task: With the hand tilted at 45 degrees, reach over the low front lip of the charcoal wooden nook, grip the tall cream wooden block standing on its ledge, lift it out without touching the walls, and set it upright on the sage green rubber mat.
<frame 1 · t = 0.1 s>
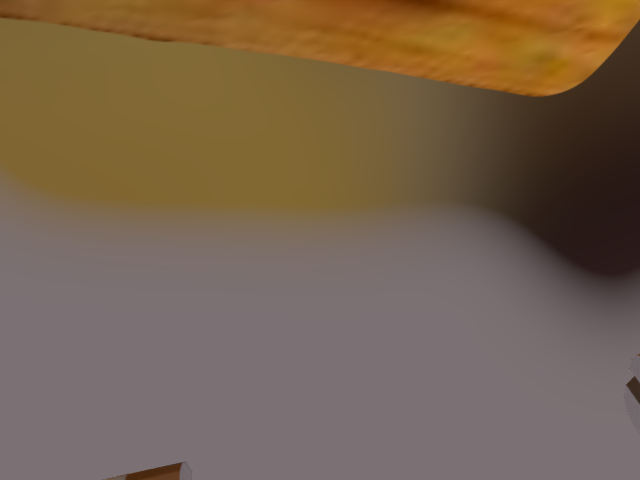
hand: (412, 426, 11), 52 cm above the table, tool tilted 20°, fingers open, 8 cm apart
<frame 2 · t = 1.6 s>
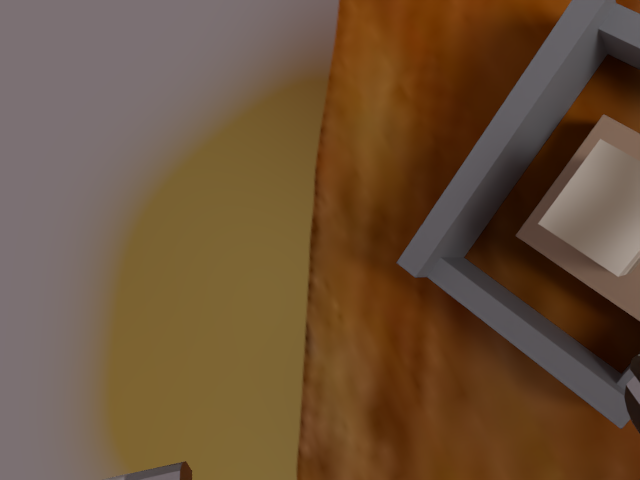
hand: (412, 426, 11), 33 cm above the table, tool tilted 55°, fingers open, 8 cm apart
nook: (627, 219, 39), on the table
block: (623, 217, 36), point 3 cm above the table, touching nook
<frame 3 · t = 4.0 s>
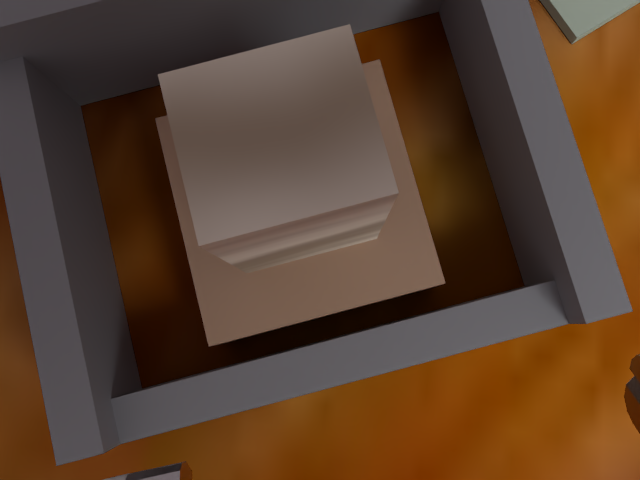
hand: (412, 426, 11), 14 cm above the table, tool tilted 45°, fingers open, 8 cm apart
nook: (301, 213, 26), on the table
block: (296, 198, 23), point 3 cm above the table, touching nook
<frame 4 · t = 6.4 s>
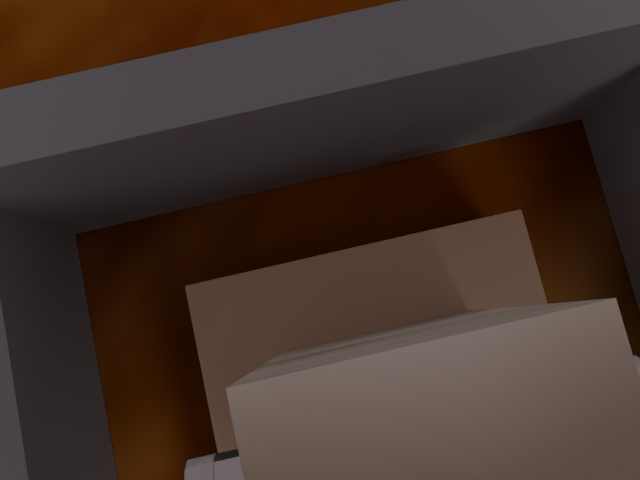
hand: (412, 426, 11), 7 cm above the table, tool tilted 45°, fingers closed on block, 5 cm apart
nook: (384, 404, 18), on the table
block: (395, 421, 15), point 3 cm above the table, touching gripper, nook
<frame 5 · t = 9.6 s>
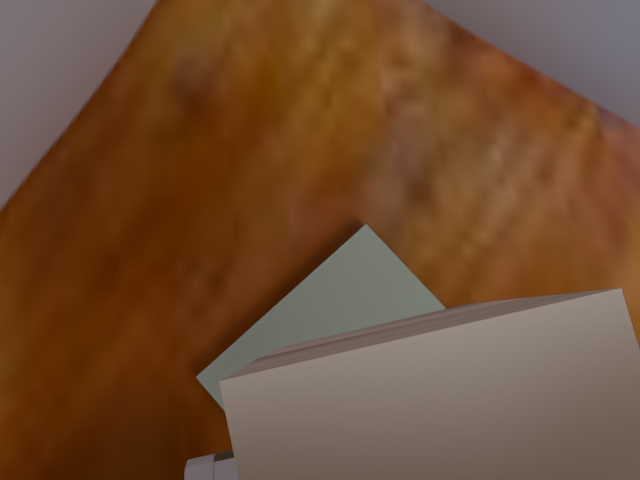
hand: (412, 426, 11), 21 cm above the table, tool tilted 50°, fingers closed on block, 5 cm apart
mat: (359, 384, 32), on the table
block: (393, 415, 15), point 17 cm above the table, touching gripper
when the fingers open (7 cm above the table, at t = 12.7 s): block drops 2 cm, resting on mat.
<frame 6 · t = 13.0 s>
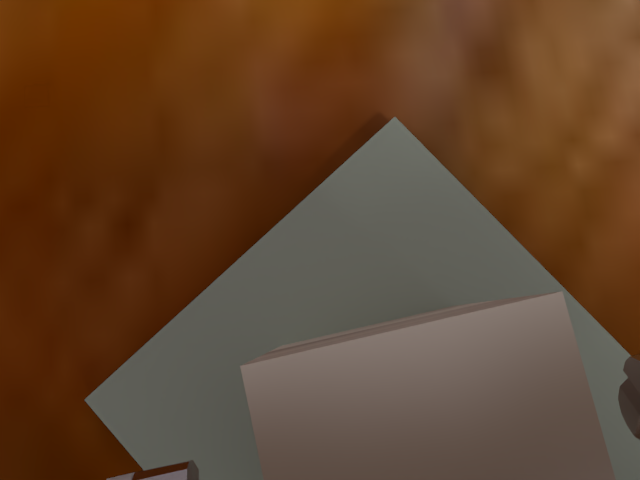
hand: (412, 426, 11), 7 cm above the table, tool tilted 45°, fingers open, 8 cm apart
mat: (386, 408, 17), on the table
block: (386, 405, 17), point 1 cm above the table, touching mat
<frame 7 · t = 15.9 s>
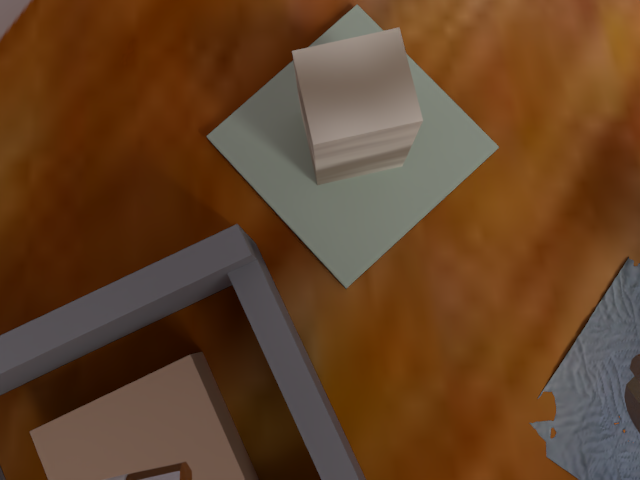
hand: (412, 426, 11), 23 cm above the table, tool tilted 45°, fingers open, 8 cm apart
mat: (351, 144, 36), on the table
nook: (161, 461, 33), on the table
block: (351, 138, 35), point 1 cm above the table, touching mat
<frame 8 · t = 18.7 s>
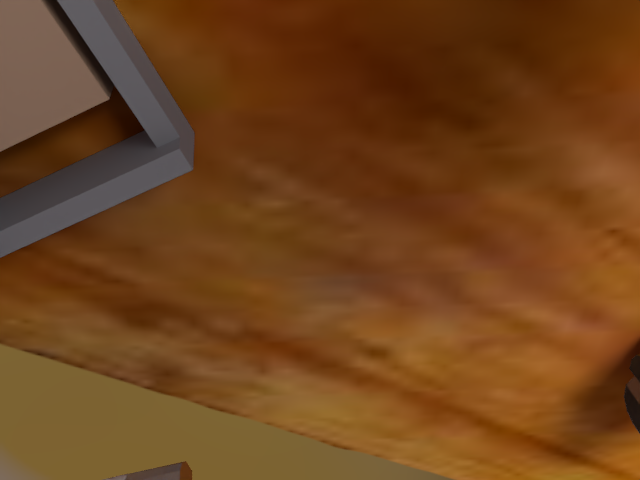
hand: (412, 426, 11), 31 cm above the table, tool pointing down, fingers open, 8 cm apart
nook: (3, 45, 35), on the table
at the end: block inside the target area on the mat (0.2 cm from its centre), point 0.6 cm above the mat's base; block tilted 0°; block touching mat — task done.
